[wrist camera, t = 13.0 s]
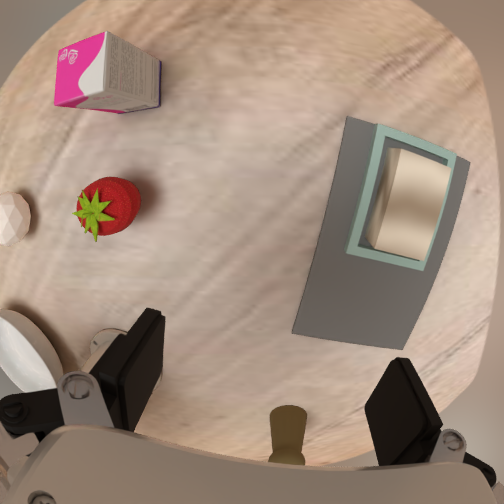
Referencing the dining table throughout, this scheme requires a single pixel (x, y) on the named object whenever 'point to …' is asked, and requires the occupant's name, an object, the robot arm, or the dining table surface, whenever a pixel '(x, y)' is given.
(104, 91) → the supplement box
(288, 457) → the cork
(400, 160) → the beige block
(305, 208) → the dining table surface
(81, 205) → the strawberry
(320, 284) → the charcoal mat
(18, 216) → the geometric ball
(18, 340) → the serving bowl
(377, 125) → the teal frame
